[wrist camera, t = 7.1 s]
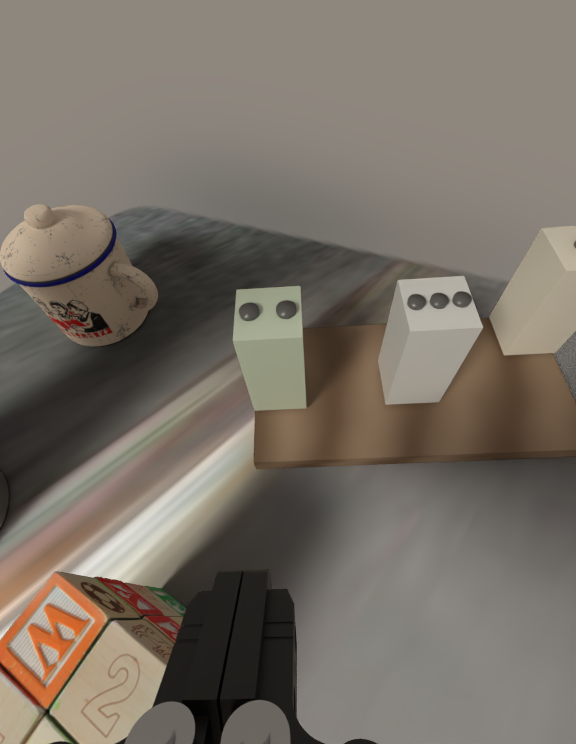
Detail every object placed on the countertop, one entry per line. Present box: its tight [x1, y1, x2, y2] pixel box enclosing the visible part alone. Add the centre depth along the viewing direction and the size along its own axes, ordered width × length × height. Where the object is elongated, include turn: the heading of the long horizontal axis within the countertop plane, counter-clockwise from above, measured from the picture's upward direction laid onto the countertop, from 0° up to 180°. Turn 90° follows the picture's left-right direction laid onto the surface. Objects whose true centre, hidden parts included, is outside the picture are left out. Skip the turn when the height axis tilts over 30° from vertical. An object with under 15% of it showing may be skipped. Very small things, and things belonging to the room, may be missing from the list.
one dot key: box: [489, 226, 576, 355], centre depth 28 cm, size 4×4×9 cm
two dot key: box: [233, 286, 306, 411], centre depth 26 cm, size 4×4×9 cm
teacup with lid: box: [0, 204, 158, 346], centre depth 33 cm, size 12×9×12 cm
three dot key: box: [378, 276, 483, 405], centre depth 26 cm, size 4×4×9 cm
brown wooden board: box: [254, 318, 576, 469], centre depth 31 cm, size 24×12×2 cm, turn 91°
